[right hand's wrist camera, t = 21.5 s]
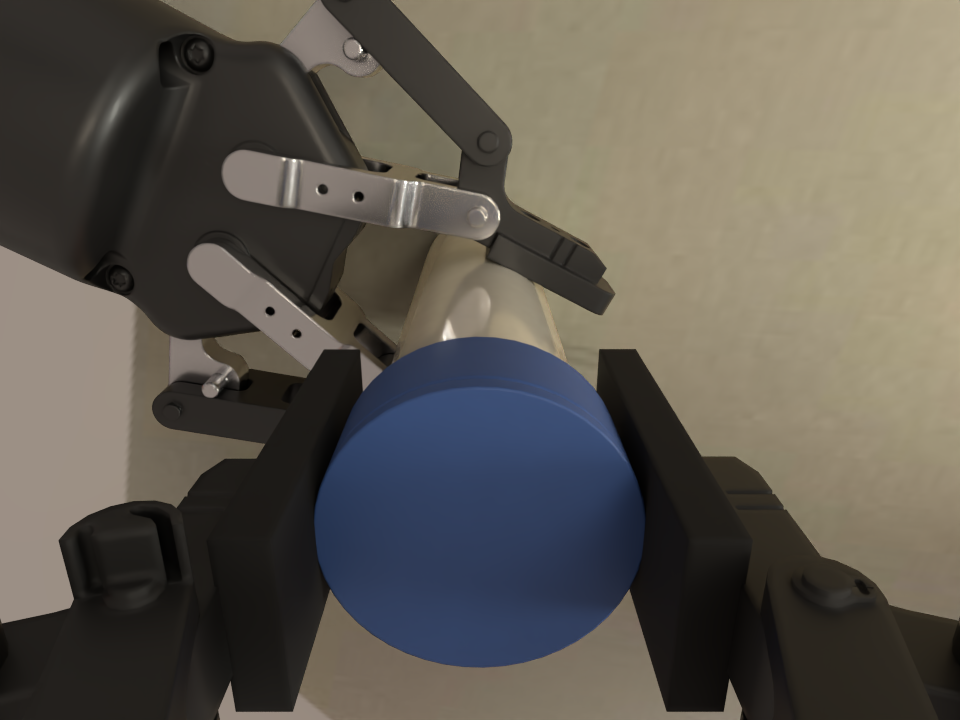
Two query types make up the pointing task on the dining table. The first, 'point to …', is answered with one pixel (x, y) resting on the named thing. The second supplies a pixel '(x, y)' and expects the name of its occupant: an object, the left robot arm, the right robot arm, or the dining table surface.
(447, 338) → the white cylindrical bottle
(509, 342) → the lid
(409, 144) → the dining table surface
